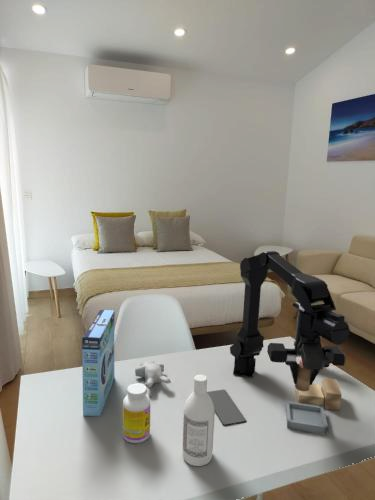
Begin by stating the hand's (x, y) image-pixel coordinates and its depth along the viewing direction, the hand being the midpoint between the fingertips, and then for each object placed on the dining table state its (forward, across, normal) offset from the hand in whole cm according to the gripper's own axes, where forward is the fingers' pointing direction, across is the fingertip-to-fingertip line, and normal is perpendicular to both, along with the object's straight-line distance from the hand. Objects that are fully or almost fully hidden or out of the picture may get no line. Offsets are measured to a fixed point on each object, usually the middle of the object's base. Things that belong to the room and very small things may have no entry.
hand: (302, 383), depth 96 cm
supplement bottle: (+11, -42, -9) cm, 45 cm away
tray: (+11, +2, +1) cm, 11 cm away
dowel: (+1, 0, 0) cm, 1 cm away
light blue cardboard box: (+11, -56, +6) cm, 57 cm away
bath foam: (+11, -27, -15) cm, 33 cm away
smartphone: (+12, -20, +4) cm, 23 cm away
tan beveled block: (+12, +6, +12) cm, 17 cm away
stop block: (+11, +12, +10) cm, 19 cm away
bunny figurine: (+11, -42, +16) cm, 46 cm away
